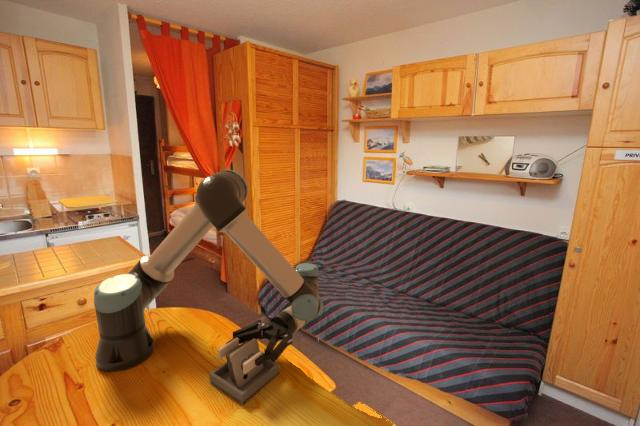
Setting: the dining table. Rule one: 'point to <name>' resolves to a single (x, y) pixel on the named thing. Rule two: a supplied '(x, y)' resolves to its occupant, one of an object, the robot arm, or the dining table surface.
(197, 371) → the dining table surface
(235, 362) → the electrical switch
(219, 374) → the box
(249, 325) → the robot arm
